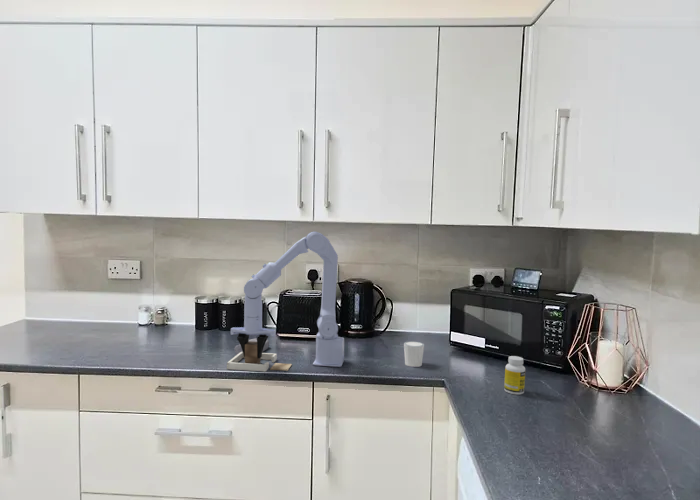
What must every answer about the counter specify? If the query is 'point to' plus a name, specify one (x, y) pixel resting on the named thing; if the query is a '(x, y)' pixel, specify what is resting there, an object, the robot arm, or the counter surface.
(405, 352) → the shot glass
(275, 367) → the cork trivet
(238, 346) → the stone block
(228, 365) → the white open square frame
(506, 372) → the supplement bottle
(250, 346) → the walnut block
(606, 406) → the counter surface
